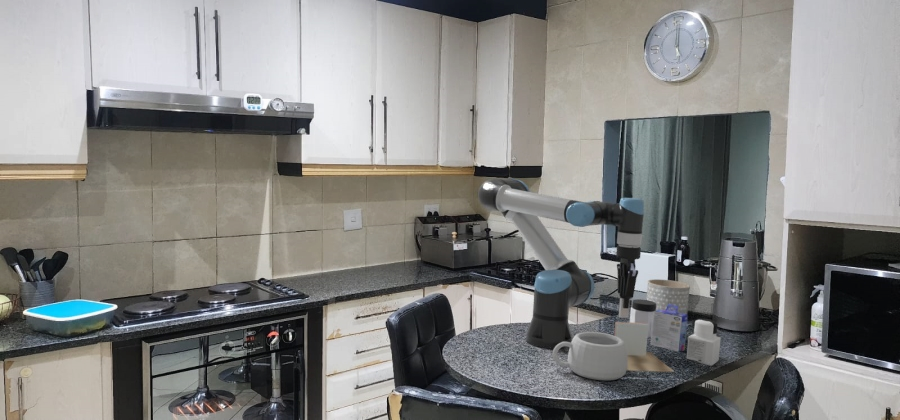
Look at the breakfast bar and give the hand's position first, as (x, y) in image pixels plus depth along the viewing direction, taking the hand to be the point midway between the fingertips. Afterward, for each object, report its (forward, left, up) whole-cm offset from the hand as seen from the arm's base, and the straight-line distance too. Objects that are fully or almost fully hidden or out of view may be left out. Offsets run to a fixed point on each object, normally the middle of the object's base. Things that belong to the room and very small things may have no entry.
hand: (623, 317), depth 198 cm
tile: (0, -8, -10) cm, 13 cm away
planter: (+38, +51, -11) cm, 65 cm away
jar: (+14, +17, -11) cm, 24 cm away
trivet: (0, -14, -10) cm, 17 cm away
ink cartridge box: (+17, +2, -11) cm, 20 cm away
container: (+23, -10, -11) cm, 27 cm away
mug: (-18, -24, -11) cm, 32 cm away
